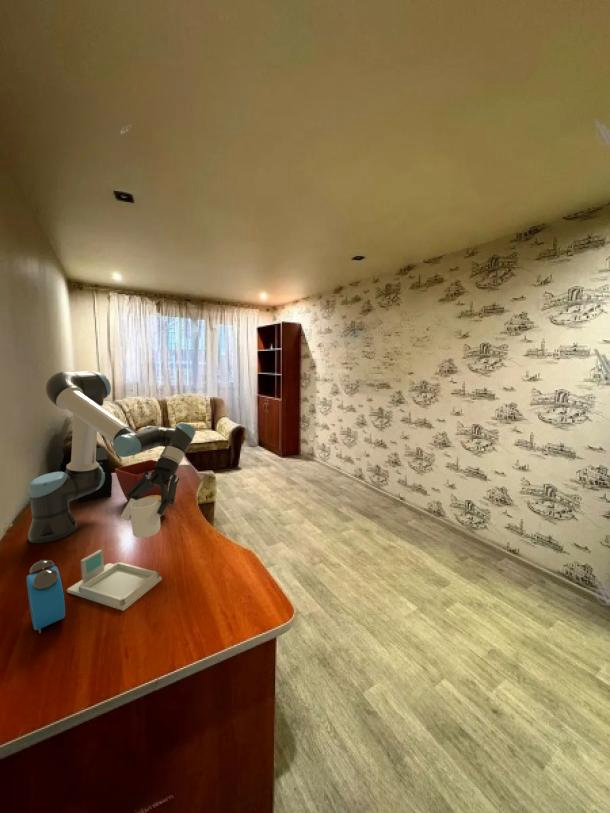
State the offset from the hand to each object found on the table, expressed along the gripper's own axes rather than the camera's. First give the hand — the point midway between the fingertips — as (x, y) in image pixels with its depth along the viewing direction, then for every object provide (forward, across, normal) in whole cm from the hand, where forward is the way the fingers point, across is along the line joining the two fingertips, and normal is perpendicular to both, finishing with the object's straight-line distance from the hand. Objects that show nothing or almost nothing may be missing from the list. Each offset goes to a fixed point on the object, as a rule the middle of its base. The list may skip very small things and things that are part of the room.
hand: (137, 521), depth 102 cm
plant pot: (-19, +42, -42) cm, 62 cm away
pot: (-9, +23, -31) cm, 39 cm away
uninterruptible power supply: (-20, +79, -42) cm, 92 cm away
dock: (+18, -1, -3) cm, 18 cm away
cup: (+1, 0, -5) cm, 5 cm away
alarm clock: (+29, +3, +8) cm, 30 cm away
